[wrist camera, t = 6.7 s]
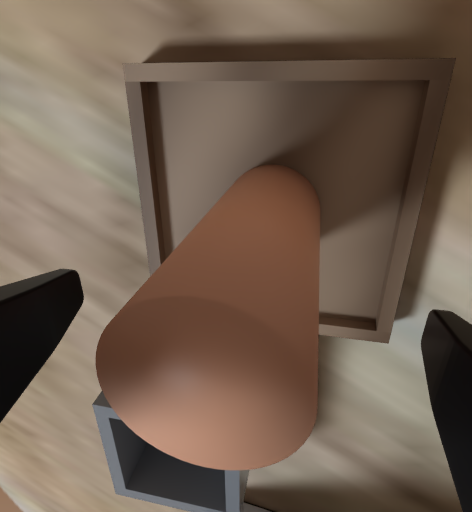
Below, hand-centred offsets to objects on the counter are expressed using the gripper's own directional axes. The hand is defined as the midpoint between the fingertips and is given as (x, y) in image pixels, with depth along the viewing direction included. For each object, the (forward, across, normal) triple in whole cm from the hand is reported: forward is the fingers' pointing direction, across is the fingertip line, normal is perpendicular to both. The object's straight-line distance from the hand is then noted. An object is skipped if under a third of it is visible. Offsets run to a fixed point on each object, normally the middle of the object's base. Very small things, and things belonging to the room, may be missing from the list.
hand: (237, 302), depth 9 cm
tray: (+8, 0, 0) cm, 8 cm away
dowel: (+7, 0, 0) cm, 7 cm away
